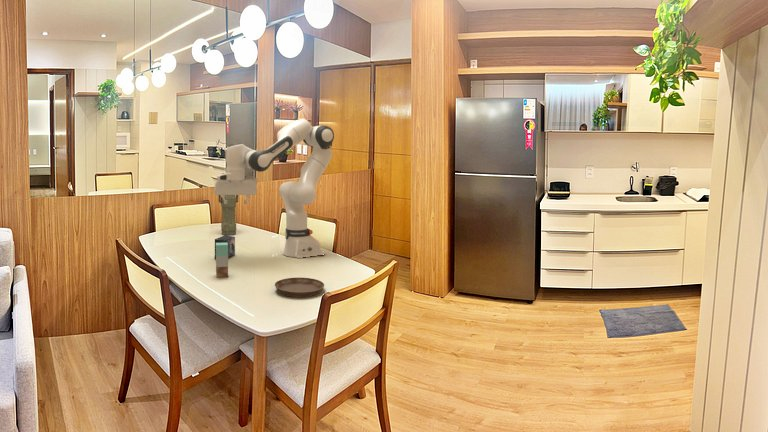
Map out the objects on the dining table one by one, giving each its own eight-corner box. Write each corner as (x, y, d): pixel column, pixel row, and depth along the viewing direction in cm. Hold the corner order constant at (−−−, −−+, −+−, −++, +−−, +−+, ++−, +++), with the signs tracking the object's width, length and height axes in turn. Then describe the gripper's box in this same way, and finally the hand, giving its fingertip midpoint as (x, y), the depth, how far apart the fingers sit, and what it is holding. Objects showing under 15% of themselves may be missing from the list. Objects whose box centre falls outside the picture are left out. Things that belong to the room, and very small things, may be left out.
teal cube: (227, 253, 236) (227, 242, 235) (228, 255, 231) (227, 244, 231) (215, 253, 234) (215, 242, 234) (216, 256, 230) (216, 245, 229)
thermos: (216, 233, 322) (215, 177, 316) (234, 232, 329) (234, 177, 324) (222, 236, 315) (221, 179, 309) (240, 234, 323) (240, 178, 317)
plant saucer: (326, 284, 228) (326, 277, 228) (321, 300, 208) (322, 292, 207) (279, 283, 228) (279, 276, 227) (270, 298, 207) (270, 290, 207)
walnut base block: (227, 274, 238) (227, 263, 237) (228, 277, 233) (228, 266, 232) (216, 274, 236) (216, 264, 235) (216, 277, 231) (216, 267, 231)
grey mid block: (227, 263, 237) (227, 253, 236) (228, 266, 232) (227, 255, 231) (216, 264, 235) (215, 253, 234) (216, 267, 231) (216, 256, 230)
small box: (225, 260, 261) (225, 240, 260) (214, 259, 263) (213, 239, 261) (235, 255, 272) (235, 236, 270) (224, 254, 273) (224, 235, 271)
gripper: (256, 175, 261) (256, 202, 263) (213, 175, 254) (214, 203, 256) (257, 176, 255) (257, 204, 257) (214, 176, 248) (214, 205, 250)
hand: (235, 203), depth 256 cm, fingers open, 8 cm apart
